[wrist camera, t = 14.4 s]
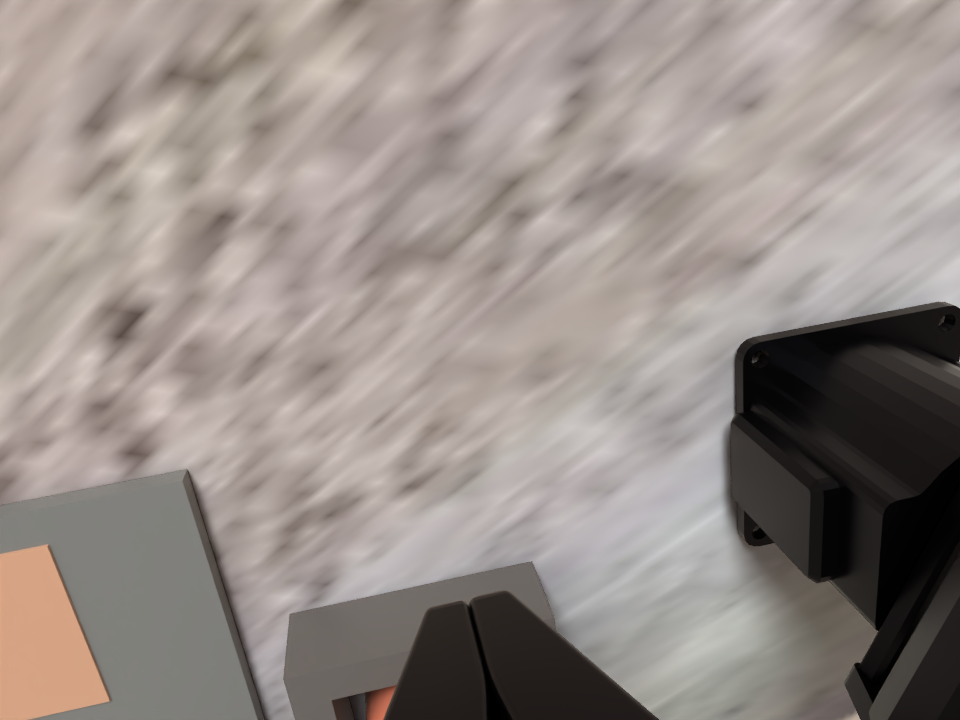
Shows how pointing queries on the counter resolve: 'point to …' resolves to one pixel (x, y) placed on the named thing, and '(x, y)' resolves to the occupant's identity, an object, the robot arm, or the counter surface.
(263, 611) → the counter surface
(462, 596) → the button housing
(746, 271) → the counter surface
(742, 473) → the robot arm
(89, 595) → the picture board
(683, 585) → the counter surface
